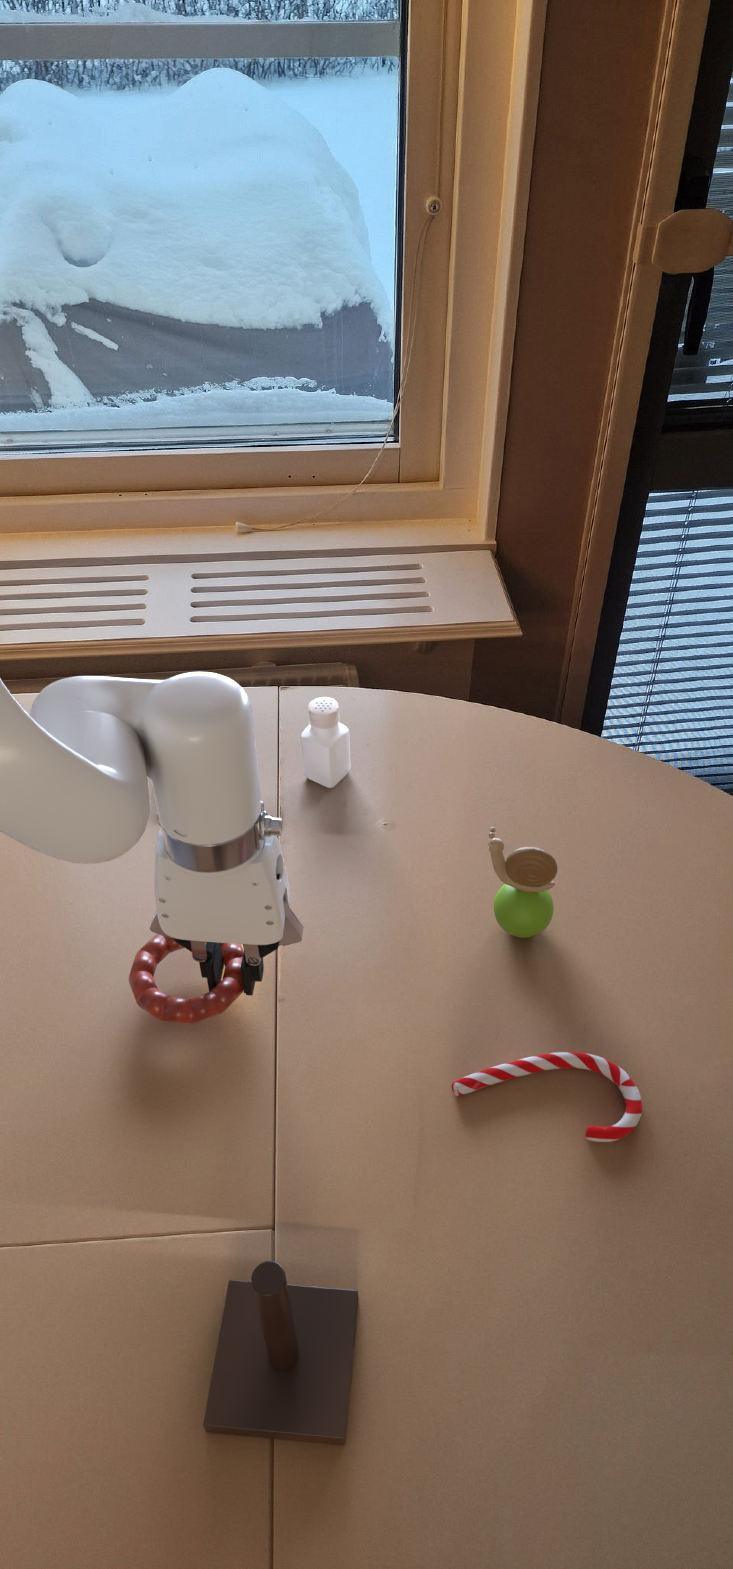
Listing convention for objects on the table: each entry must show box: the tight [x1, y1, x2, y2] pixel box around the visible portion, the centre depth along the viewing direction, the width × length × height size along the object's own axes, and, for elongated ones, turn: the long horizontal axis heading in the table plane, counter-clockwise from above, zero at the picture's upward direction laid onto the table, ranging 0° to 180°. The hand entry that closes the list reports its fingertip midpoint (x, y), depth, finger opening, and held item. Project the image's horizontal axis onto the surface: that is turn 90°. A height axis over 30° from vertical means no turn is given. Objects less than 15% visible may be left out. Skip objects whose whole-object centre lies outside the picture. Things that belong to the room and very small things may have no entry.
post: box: [202, 1260, 359, 1446], centre depth 65 cm, size 9×9×14 cm
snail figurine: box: [487, 826, 558, 938], centre depth 93 cm, size 5×6×12 cm
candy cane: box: [451, 1051, 643, 1143], centre depth 83 cm, size 8×1×15 cm
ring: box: [128, 933, 244, 1025], centre depth 89 cm, size 10×10×2 cm
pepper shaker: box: [300, 696, 352, 789], centre depth 110 cm, size 4×4×10 cm
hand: (233, 979), depth 89 cm, fingers closed on ring, 2 cm apart
